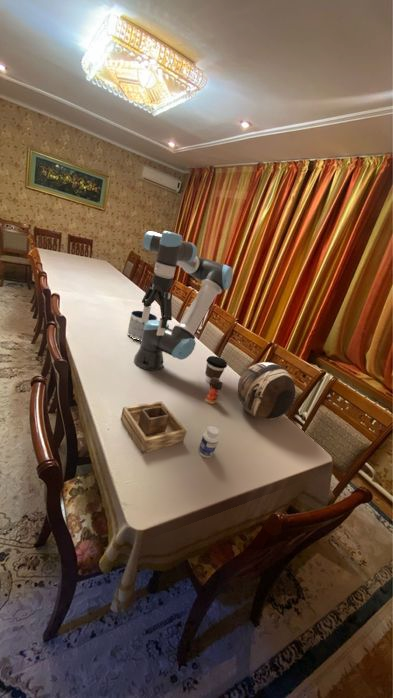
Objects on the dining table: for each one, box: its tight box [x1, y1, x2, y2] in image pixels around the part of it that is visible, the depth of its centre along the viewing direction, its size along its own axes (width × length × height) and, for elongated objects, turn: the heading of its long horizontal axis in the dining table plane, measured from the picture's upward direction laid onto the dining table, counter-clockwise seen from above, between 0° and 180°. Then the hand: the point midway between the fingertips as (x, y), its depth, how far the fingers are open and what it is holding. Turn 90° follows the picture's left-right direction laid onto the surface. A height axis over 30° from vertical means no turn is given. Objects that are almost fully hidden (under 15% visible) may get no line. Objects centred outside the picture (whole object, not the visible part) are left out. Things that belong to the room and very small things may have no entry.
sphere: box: [237, 361, 296, 420], centre depth 129 cm, size 25×25×25 cm
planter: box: [127, 310, 158, 340], centre depth 179 cm, size 16×16×14 cm
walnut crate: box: [138, 406, 169, 436], centre depth 102 cm, size 8×6×7 cm
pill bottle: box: [198, 425, 220, 458], centre depth 98 cm, size 5×5×10 cm
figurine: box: [203, 377, 223, 405], centre depth 130 cm, size 6×6×12 cm
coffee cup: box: [204, 355, 228, 384], centre depth 150 cm, size 11×11×12 cm
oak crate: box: [120, 401, 187, 454], centre depth 102 cm, size 16×18×5 cm
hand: (151, 328), depth 116 cm, fingers open, 13 cm apart
